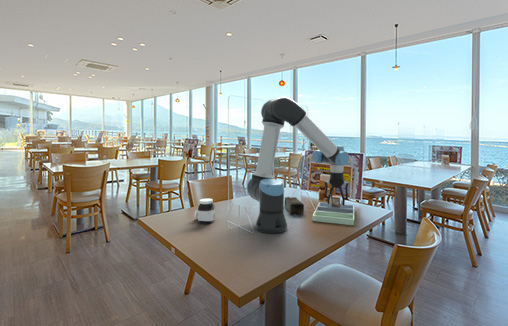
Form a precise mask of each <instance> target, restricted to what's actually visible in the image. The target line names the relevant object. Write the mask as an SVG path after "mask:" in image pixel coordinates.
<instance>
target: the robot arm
mask: <svg viewBox="0 0 508 326" xmlns="http://www.w3.org/2000/svg"><path fill="white" fill-rule="evenodd" d="M260 113H261V117H262V121H261V123H262V125H263V131H262V135H261V136H262V137H261V142H260V147H259V152H258V157H257V162H256V168H255V171H254V172H253V173H252V174H251V178H250V179H249V180H248V181H247V184H246V191H247V194H248V195H249V196H250V197H251V199H253V200H255V201H257V202H259V212H258V216H257V219H256V222H255V229H256V230H257V231H258V232H260V233H263V234H264V233H265V234H281V233H285V232H286V231H287V230H288V223H287V220H286V216H285V211H284V207H285V206H284V205H285V187H284V186H285V185H284V183H283V182H282V181H281V180H279V179H275V178H274V175H273V169H274V163H275V160H276V159H275V158H276V154H277V148H278V143H279V138H280V132H281V130H282V129H283V128H284V127H285V123H287V124H288V125H290V126H291V127H295V128H296V130H298V131H299V132H300V133H301V134H303V136H304V137H305V138H306V139H307V140H308V141H309V142H310V143H312V145H314V146H315V147H316V150H314V151H313V152H312V155H311V157H312V161H313V163H315V164H326V165H327V164H328V165H330V167H329V168H330V169H329V171H330V173H329V180H327V181H324V185H325V187H324V189H325V190H324V198H325V199H327V203H328V204H329V207H331V203H332V198H331V197H332V194H333V191H334V188H335V189H336V188H337V189H338V190H339V193H340V195H341V196H340V197H341V198H340V204H341V208H342V206H343V205H345V204H346V203H345V201H346V200H349V190H348V186H349V182H347V181H344V170H345V169H344V166H346V165H347V164H348V163H349V161H350V155H349V153H348V152H347V151H345V147H344V146H343V145H336V144H334V142H333V141H332V140H331V139H330V138H329V137H328V136H327V135H326V134H325V133H324V132H323V131H322V130H321V129H320V128H319V127H318V126H317V125H316V124H315V122H314V121H312V119H310V118H309V117H308V115H307V112H306V110H305V109H304V108H303V107H302V106H300V105H299V103H297V101H295V100H293V99H292V98H290V97H287V96H281V97H277V98H272V99H268V100H267V101H266V102H264V103H263V105H262V106H261V111H260ZM329 184H330V186H331V188H330V190H329V193H328V187H329ZM342 186H345V187H344V189H345V191H344V192H345V196H344V192H343V187H342Z"/></svg>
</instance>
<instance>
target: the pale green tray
mask: <svg viewBox="0 0 508 326" xmlns="http://www.w3.org/2000/svg"><path fill="white" fill-rule="evenodd" d="M312 222H317V223H318V222H320V223H329V224H337V225H347V226H355V213H354V214H344V213H333V212H323V211H315V210H314V212H313V214H312Z"/></svg>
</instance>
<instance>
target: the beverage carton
mask: <svg viewBox="0 0 508 326" xmlns="http://www.w3.org/2000/svg"><path fill="white" fill-rule="evenodd" d="M284 207H285V208H286V210H287V212H289V214H290V215H304V213H305V212H304V211H305V205H304V203H303V202H301V201H300V200H299V198H297V197H290V196H286V197H285V196H284Z"/></svg>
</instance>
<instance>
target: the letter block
mask: <svg viewBox="0 0 508 326" xmlns="http://www.w3.org/2000/svg"><path fill="white" fill-rule="evenodd" d="M331 203H332V207H338V208H340V204H341V196H340V195H331Z"/></svg>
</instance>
